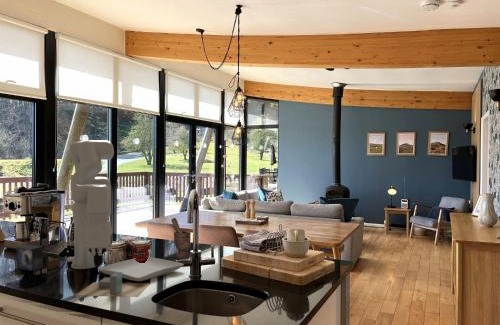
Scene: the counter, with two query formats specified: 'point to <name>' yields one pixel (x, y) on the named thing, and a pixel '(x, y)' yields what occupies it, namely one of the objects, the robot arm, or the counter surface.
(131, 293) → the cork mat
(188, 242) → the mortar and pestle
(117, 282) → the tile
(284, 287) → the counter surface
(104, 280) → the tile
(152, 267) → the square plate
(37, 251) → the small box
